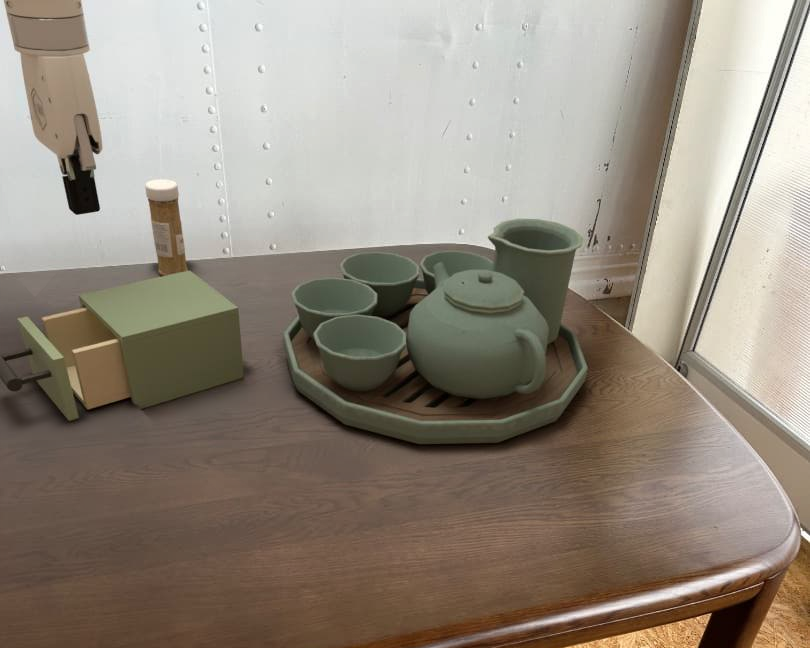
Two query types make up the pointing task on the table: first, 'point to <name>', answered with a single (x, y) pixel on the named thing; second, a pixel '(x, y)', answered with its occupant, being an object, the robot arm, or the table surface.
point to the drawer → (71, 361)
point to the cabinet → (171, 335)
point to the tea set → (443, 339)
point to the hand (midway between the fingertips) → (85, 210)
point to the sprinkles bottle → (166, 226)
